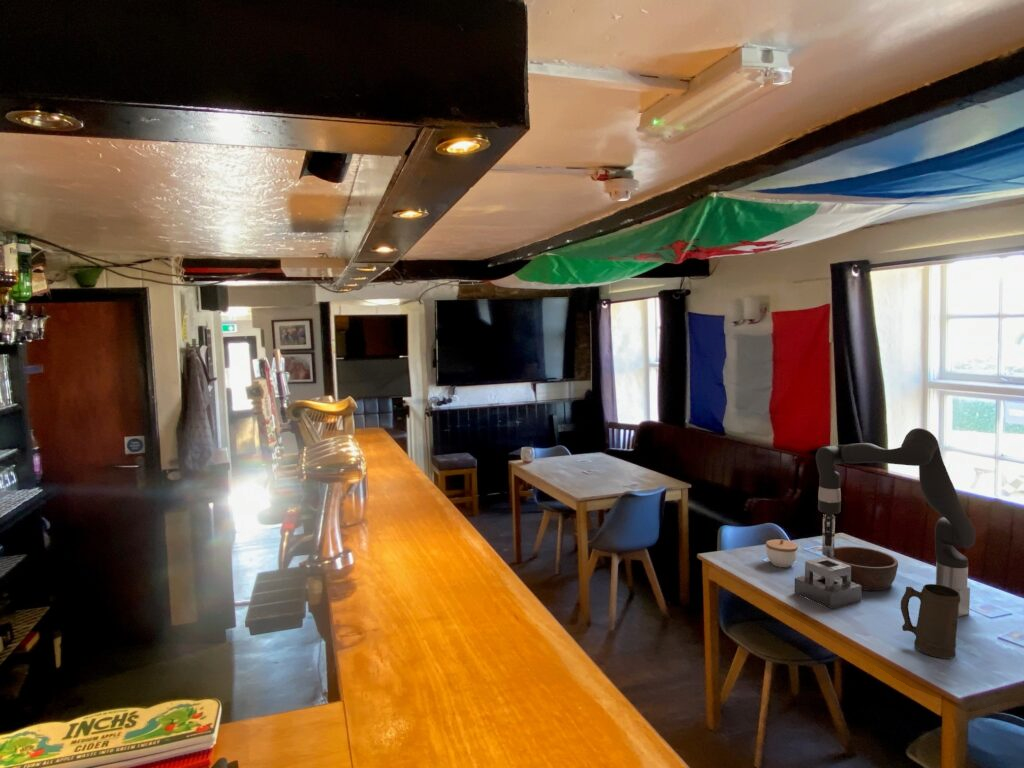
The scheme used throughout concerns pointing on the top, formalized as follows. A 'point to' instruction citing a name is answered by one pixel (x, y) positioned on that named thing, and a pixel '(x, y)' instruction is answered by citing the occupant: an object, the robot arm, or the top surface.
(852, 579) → the wooden bowl
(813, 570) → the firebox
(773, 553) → the lidded bowl
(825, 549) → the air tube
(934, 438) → the robot arm
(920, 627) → the beer stein
